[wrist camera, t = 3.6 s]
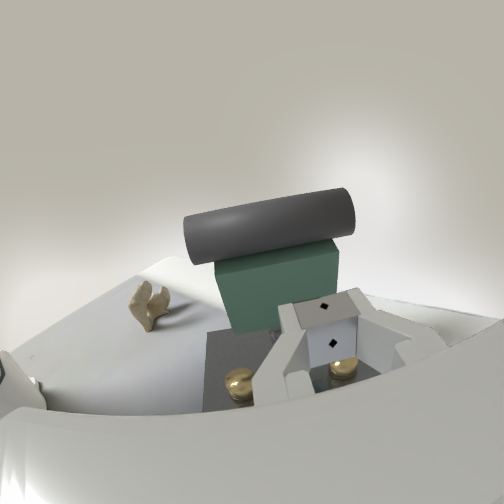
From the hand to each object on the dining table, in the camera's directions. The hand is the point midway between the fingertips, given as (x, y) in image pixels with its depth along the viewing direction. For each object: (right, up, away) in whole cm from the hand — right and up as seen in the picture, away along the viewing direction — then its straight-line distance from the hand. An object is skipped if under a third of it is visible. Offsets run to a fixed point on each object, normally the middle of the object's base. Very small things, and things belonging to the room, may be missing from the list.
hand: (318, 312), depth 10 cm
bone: (-20, -10, +38) cm, 44 cm away
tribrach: (+2, -12, +23) cm, 26 cm away
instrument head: (+1, -5, +20) cm, 21 cm away
